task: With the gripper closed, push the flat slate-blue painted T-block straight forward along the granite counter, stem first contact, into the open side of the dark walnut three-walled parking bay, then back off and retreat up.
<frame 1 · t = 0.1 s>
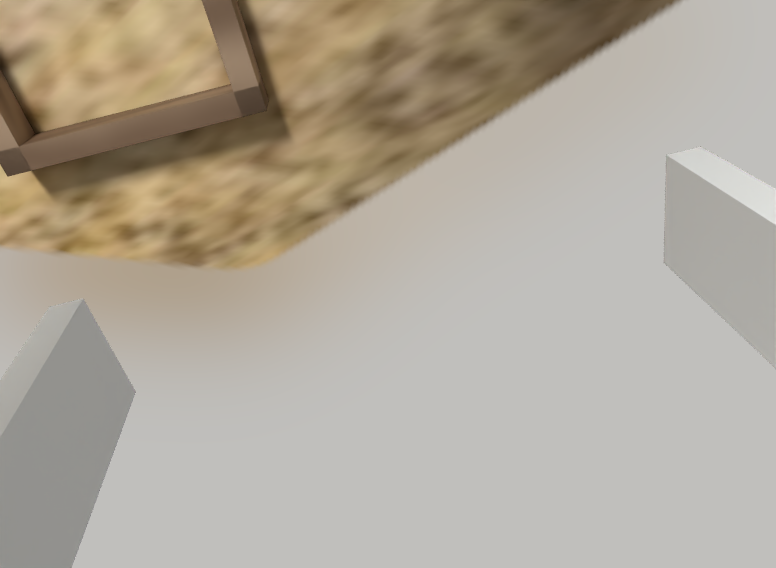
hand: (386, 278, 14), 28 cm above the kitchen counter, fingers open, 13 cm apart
bay: (97, 19, 35), on the kitchen counter
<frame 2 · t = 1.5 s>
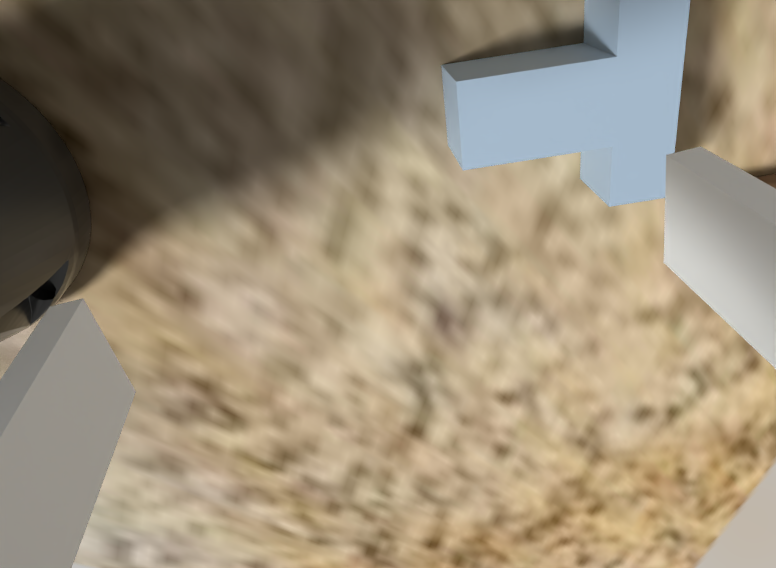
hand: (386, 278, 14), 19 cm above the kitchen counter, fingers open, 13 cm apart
tee: (543, 90, 31), on the kitchen counter
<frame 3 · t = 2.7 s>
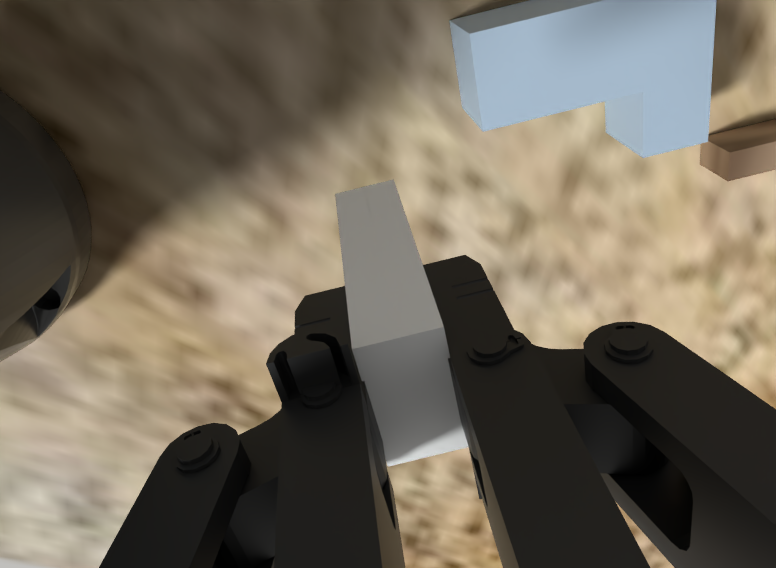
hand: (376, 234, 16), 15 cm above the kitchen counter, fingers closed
tee: (560, 39, 29), on the kitchen counter
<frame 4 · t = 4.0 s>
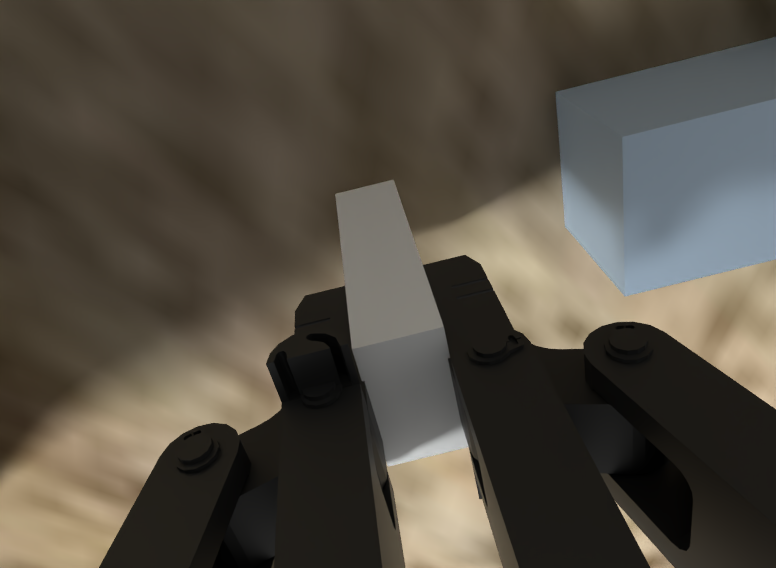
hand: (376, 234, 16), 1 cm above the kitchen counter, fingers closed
tee: (735, 119, 17), on the kitchen counter
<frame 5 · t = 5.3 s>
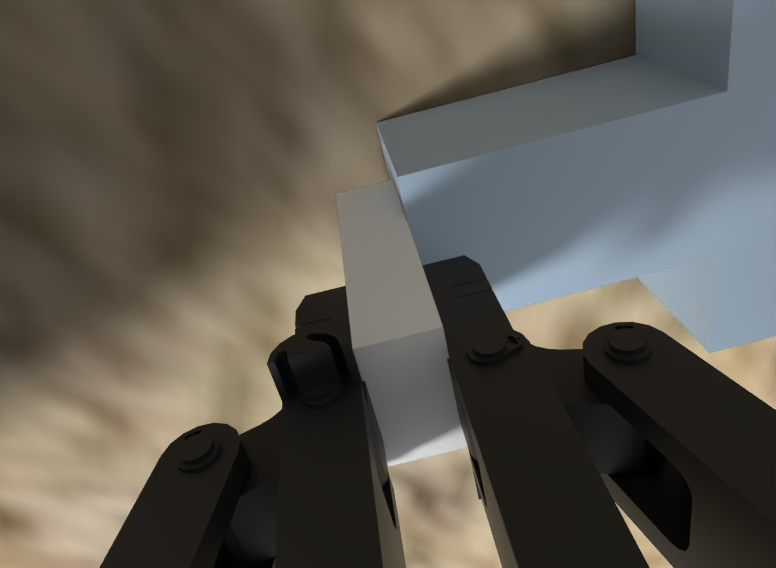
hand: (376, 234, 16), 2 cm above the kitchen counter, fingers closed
tee: (566, 146, 17), on the kitchen counter, touching gripper
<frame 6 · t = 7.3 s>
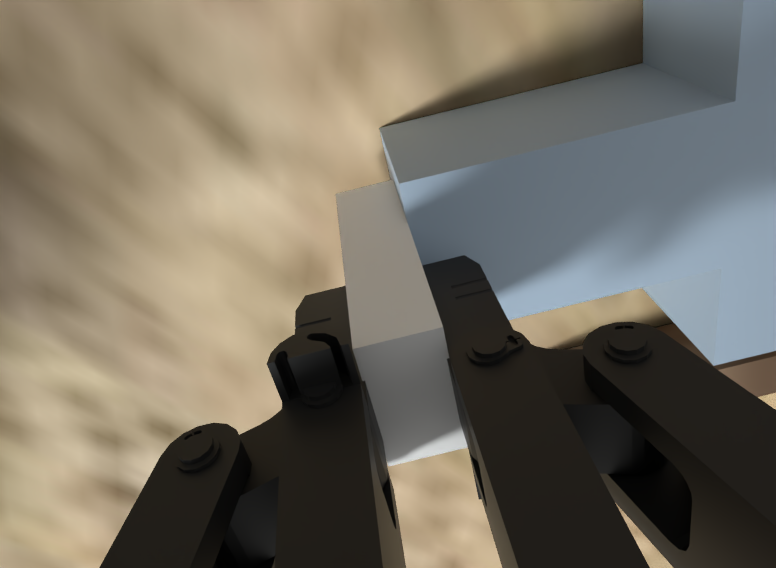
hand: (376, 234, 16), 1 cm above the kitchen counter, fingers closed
tee: (571, 154, 17), on the kitchen counter, touching gripper
bay: (709, 127, 17), on the kitchen counter
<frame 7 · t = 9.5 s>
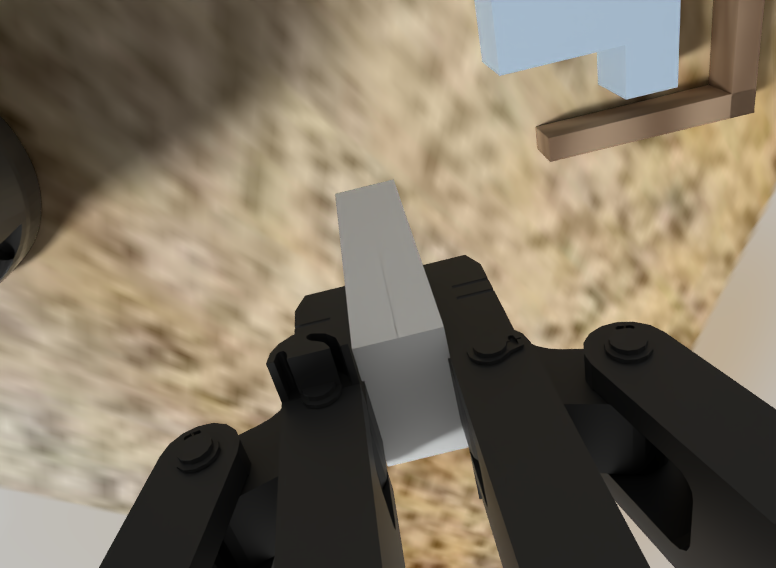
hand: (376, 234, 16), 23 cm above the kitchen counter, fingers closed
tee: (561, 6, 36), on the kitchen counter
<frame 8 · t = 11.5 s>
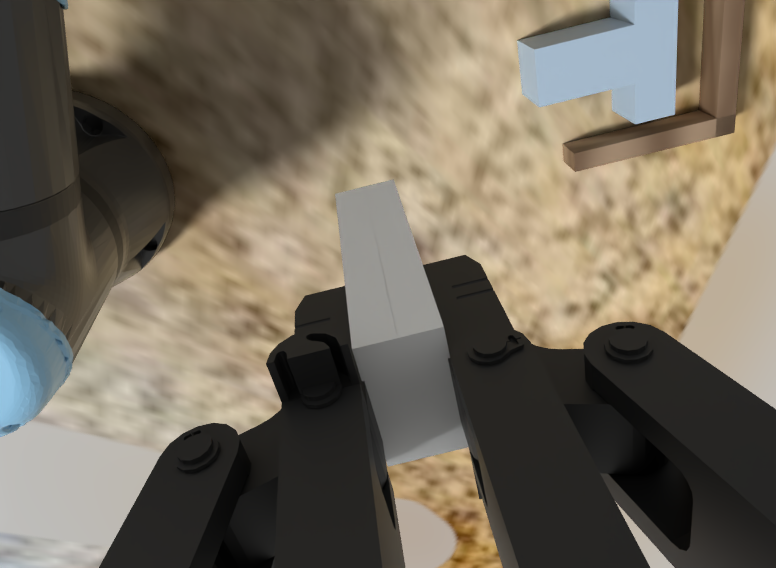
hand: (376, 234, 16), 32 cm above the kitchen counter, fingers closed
tee: (584, 51, 46), on the kitchen counter
bay: (634, 42, 46), on the kitchen counter
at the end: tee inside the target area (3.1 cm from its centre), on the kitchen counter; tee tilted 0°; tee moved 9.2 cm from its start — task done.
